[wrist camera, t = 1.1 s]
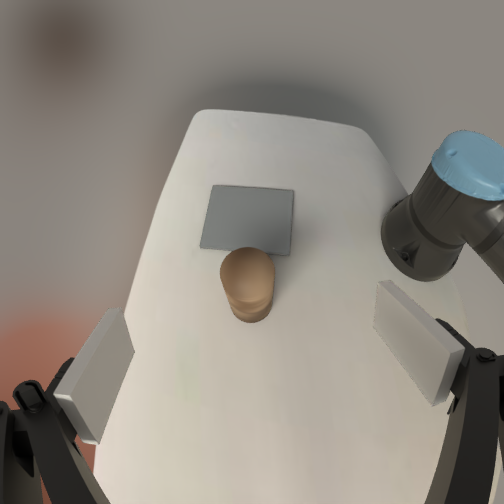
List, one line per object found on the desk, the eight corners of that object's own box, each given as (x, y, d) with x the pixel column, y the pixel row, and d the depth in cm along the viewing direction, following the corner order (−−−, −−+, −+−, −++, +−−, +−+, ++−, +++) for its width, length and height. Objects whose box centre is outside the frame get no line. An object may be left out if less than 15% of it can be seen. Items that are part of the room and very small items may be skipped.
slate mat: (292, 193, 53) (293, 191, 52) (289, 255, 48) (289, 254, 47) (213, 187, 54) (212, 185, 53) (200, 248, 49) (199, 246, 48)
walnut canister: (273, 285, 46) (277, 249, 35) (269, 324, 43) (272, 300, 32) (233, 281, 46) (224, 244, 35) (227, 320, 44) (216, 294, 33)
